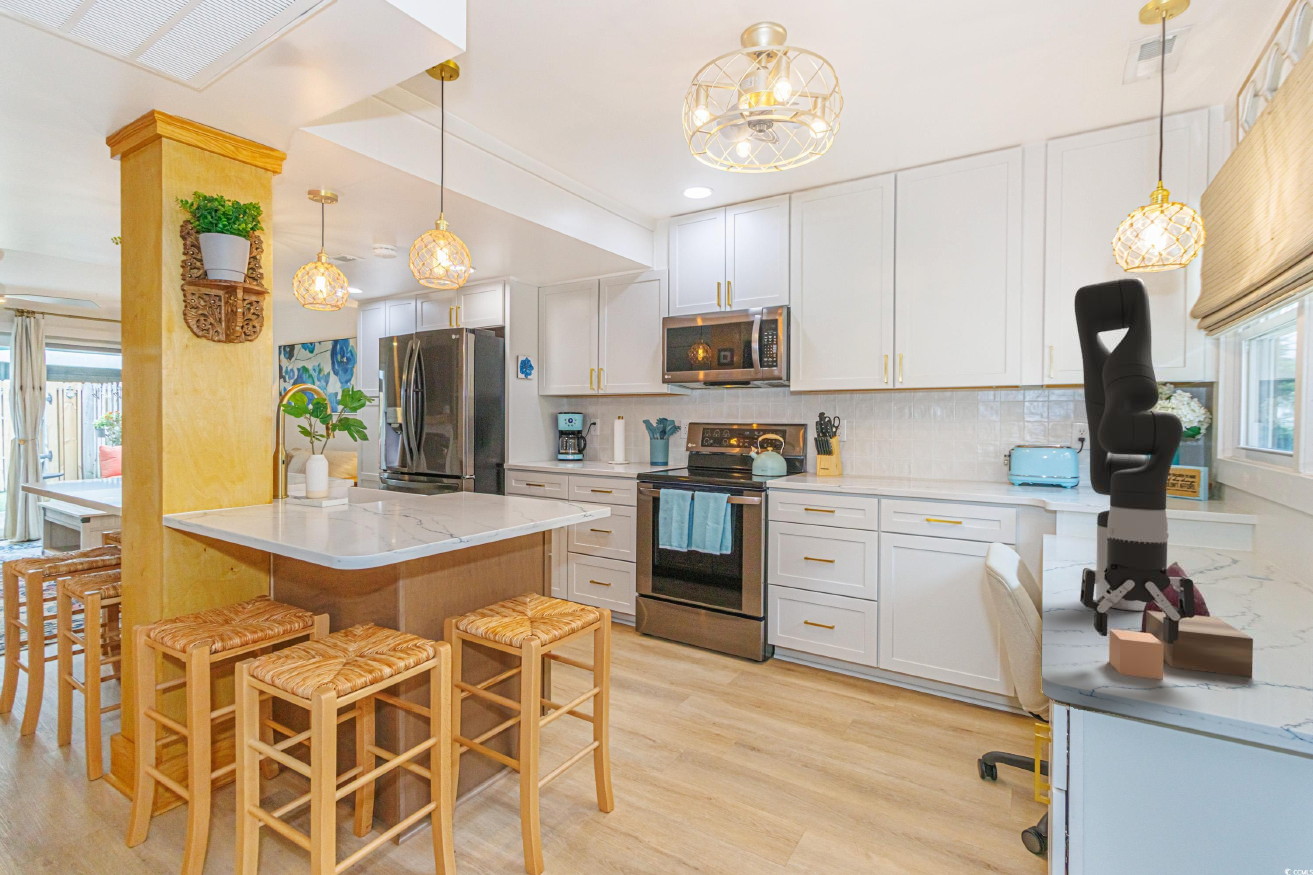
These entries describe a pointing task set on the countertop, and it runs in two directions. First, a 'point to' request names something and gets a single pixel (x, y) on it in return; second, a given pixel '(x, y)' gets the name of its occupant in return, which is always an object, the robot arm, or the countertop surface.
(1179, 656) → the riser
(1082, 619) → the countertop surface
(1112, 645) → the block
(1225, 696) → the countertop surface
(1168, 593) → the vegetable
